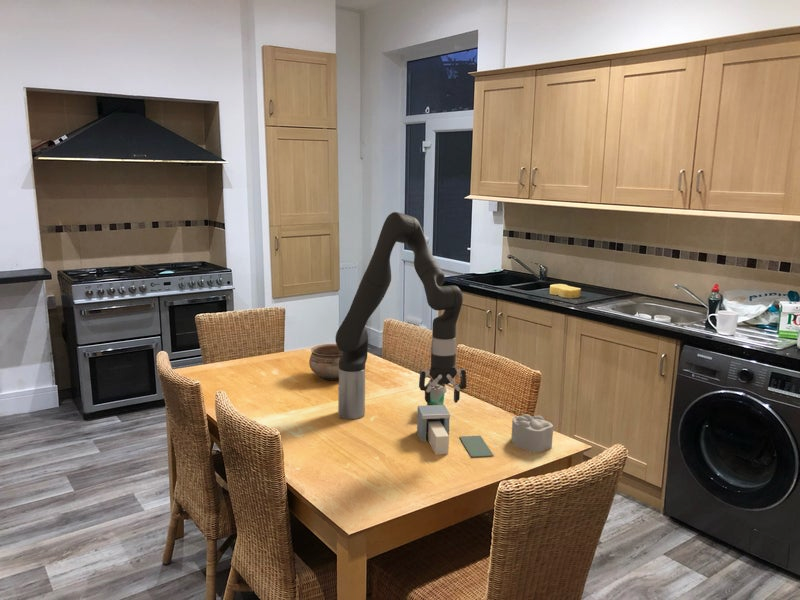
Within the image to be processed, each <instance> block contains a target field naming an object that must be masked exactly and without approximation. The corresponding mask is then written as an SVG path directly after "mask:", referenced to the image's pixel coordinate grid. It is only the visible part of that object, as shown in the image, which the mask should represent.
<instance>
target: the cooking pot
mask: <svg viewBox="0 0 800 600" xmlns="http://www.w3.org/2000/svg"><path fill="white" fill-rule="evenodd" d="M310 352H311V354H310V357H309V359H308V364H309V365H308V366H309V367H310V370H311V371H312V372H313V373H314V374H315V375H317V376H318V377H320V378H323V379H324V380H326V381H337V380H338V381H339V360H340V358H341V356H342V353H343V351H341V350H340V349H339V348H338V347H337V344H336V343H325V344H319V345H315V346H313V347H311V348H310Z"/></svg>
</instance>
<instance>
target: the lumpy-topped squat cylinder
mask: <svg viewBox="0 0 800 600" xmlns="http://www.w3.org/2000/svg"><path fill="white" fill-rule="evenodd" d="M553 435H554V425H553V424H552V423H551V422H550V421H546V420H545V418H544V417H543V416H542V415H535V416H533V415H532V416H531V415H530V414H528V413H526V414H523V415H517V416H513V418H512V422H511V437H510V438H511V439H510V440H511V443H512V444H513V445H514V446H515V447H517V448H520V449H521V450H524V451H527V452H529V453H535V454H536V453H537V454H540V453H542V452H544V451H546V450H550V449H551V448H552V447H553Z"/></svg>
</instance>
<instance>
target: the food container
mask: <svg viewBox="0 0 800 600" xmlns="http://www.w3.org/2000/svg"><path fill="white" fill-rule="evenodd" d="M446 393H447V386H446V384H440V385H438V384H436V385H435V386H434V387H433V388H432V389H431V390H430V404H428V403H427V402H426V405H444V402H445V394H446Z"/></svg>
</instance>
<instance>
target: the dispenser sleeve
mask: <svg viewBox="0 0 800 600" xmlns="http://www.w3.org/2000/svg"><path fill="white" fill-rule="evenodd" d="M416 413H417V417H416V418H417V421H416V422H417V423H416V432H417V435H418V436H419V439H420V441H421V442H427V433H428V422H434V421H440V422H441V424H442V425H443V427H444V429H445V430H446V432H447V434H448V435H449V436H450V419H451V413H450V412H449V410H448V408H447V407H446V405H445V404H443V405H427V404H426V405H417V412H416Z"/></svg>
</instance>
